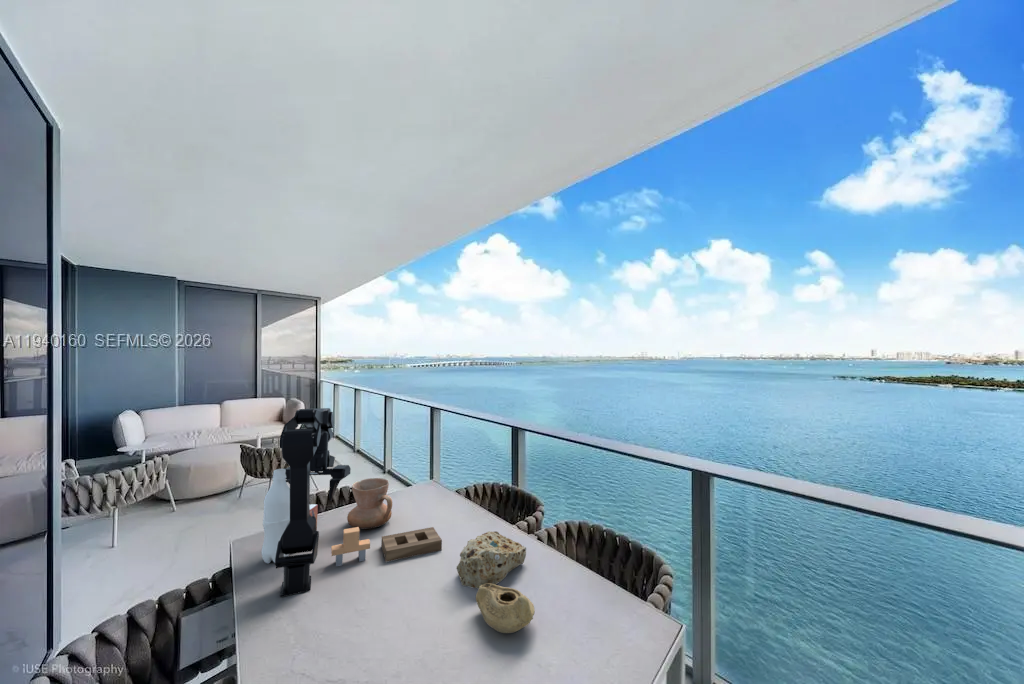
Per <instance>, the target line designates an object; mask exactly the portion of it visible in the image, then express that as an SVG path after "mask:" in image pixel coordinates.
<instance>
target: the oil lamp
mask: <svg viewBox="0 0 1024 684" xmlns="http://www.w3.org/2000/svg"><path fill="white" fill-rule="evenodd" d="M477 589H478V590H477V592H476V595H475V602H476V604H477V607H478V608H479V610H480V613H481V615H482V617H483V620H484V622H485V623H486V624H487V625H488V626H489V627H491V628H492V629H493V630H494V631H497V632H498V633H499V634H500V633H501V634H512V633H516V632H518V631H519V630H522V629H523V628H525V627H526V626H528V625H529V624H530V623H531V622H532V620H533V619H534V615H535V611H536V610H535V605H534V603H533V602H532V601H531V600H530V599H529V598H528V597H527V596H526V595H524V594H523V593H522V592H521V591H520V590H518V589H516V588H512V587H506V586H505V587H504V586H501V585H497V584H496V585H495V584H491V583H488V584H483V585H481V586H480V587H479V588H477Z"/></svg>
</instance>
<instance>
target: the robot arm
mask: <svg viewBox="0 0 1024 684" xmlns="http://www.w3.org/2000/svg"><path fill="white" fill-rule="evenodd" d="M333 413H334V411H332V410H331V408H330V407H327V408H325V407H324V408H321V407H320V408H319V407H318V408H300V409H297V410H295V413H294V416H293V417H292V418H291V419H289V421H287V422H286V423H285V424H284V425H283V427H282V430H281V434H280V436H279V443H278V444H279V445H278V446H279V448H280V449H281V457H282V459H283V460H284V462H285V463H286V464H287V465H288V467H286V468H285V469H286V473H285V474H286V483H288V485H289V488H290V521H289V523H288V524H287V526H286V528H285V530H284V532H283V534H282V536H281V539H280V541H279V542H278V546H277V551H276V557H275V563H274V567H275V569H280V568H283V581H282V584H281V589H280V594H279V596H280V598H281V597H283V598H284V597H287V596H290V595H291V596H292V595H296V594H300V593H303V592H304V593H305V592H309V591H311V589H312V588H311V587H312V575H310V574H311V565H313V564H315V561H316V559H317V556H318V551H319V550H318V549H319V540H320V539H319V538H320V536H319V535H320V534H319V533H320V532H319V530H318V528H317V529H316V518H315V516H311V515H310V503H311V501H310V498H311V497H310V494H311V492H310V491H311V490H310V488H311V487H310V486H311V485H310V484H311V482H310V481H311V477H310V476H330V477H331V479H330V480H329V486H328V487H329V491H328V492H329V494H328V496H329V497H328V498H329V501H331V502H332V501H333V499H334V497H335V493H336V491H337V488H338V486H339V484H340V482H341V481H343V479H345V478H347V477H348V476H349V475H351V470H352V469H351V466H350V465H349V464H341V465H339V464H337V465H336V466H334V465H335V458H336V457H335V456H333V455H330V450H329V442H330V441H331V440H332V438H333V435H334V432H333V429H334V428H335V424H334V414H333ZM299 425H303V427H304V428H298V427H299ZM301 553H302V554H301ZM284 554H285V555H287V554H289V555H288V556H285V557H284ZM294 554H295V555H294Z"/></svg>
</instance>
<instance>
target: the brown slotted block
mask: <svg viewBox="0 0 1024 684" xmlns="http://www.w3.org/2000/svg"><path fill="white" fill-rule="evenodd" d="M442 542H443V540H442V538H441V536H440V535H439V534H438V532H437V530H436V529H435V527H434V526H430V527H426V528H425V527H424V528H420V529H415V530H408V531H406V532H405V531H403V532H398V533H393V534H388V535H382V536H381V544H380V545H381V550H382V553H383V556H384V559H385V562H386V563H388V562H393V561H397V560H402V559H407V558H411V557H416V556H421V555H424V554H425V555H426V554H430V553H435V552H440V551H442V550H443V549H442V547H443V543H442Z"/></svg>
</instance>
